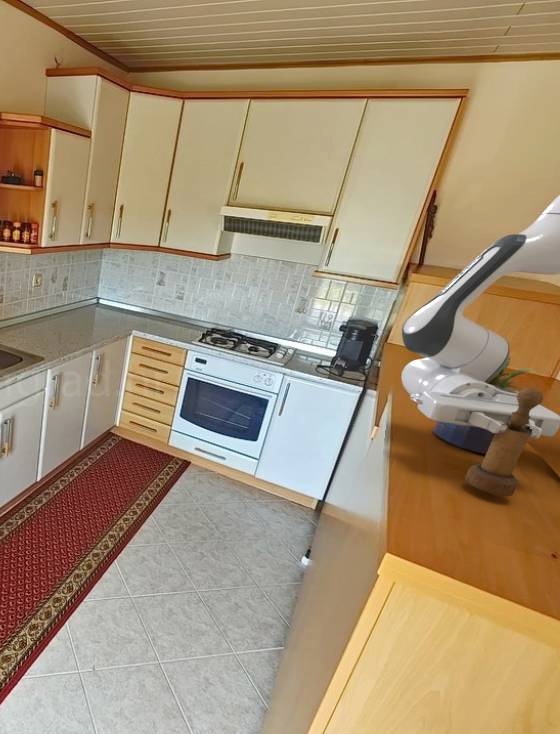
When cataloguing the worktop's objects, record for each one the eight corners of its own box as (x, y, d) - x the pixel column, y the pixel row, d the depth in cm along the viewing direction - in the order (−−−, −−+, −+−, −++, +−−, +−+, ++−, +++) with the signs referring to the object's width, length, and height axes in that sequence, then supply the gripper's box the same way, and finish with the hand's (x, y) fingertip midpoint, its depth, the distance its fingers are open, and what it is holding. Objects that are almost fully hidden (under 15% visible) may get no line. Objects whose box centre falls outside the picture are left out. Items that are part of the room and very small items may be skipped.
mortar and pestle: (459, 472, 88) (501, 379, 82) (504, 483, 86) (550, 387, 79) (471, 489, 82) (516, 390, 76) (519, 501, 80) (570, 400, 74)
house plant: (524, 437, 112) (557, 370, 106) (450, 420, 118) (477, 355, 112) (508, 418, 123) (537, 357, 118) (442, 403, 130) (466, 344, 124)
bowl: (503, 440, 109) (514, 416, 107) (525, 466, 97) (538, 439, 95) (426, 423, 115) (436, 399, 112) (438, 445, 103) (449, 419, 101)
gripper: (411, 378, 92) (457, 405, 79) (528, 392, 90) (596, 423, 77) (399, 408, 95) (443, 439, 82) (514, 423, 92) (577, 458, 79)
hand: (518, 431), depth 79 cm, fingers closed on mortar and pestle, 4 cm apart
